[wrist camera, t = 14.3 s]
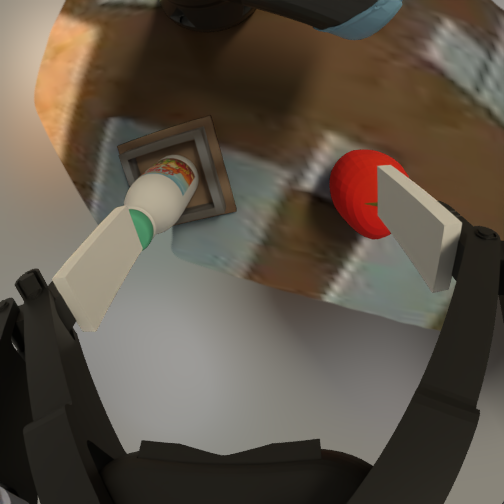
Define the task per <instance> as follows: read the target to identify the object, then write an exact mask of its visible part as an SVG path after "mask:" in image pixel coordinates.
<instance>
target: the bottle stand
mask: <svg viewBox="0 0 504 504" xmlns="http://www.w3.org/2000/svg"><path fill="white" fill-rule="evenodd" d="M117 148H118V151H119V154H120V155H119V158H120V161H121V164H122V167H123V170H124V172H125V175H126V178H127V181H128V183H129V186H130V187H131V185H132V184H133V183H134V182H135V181H136V180H137V179H138V178H139V177H140V176H141V175H142V174H143V173H144V172H146V171H147V170H148V169H149V168H150V167H152V166H153V165H154V164H155V163H157V162H158V161H159V160H161V159H162V158H164V157H166V156H169V155H180V156H183V157H185V158H187V159H189V160H190V161H191V162H192V163H193V164H194V166H195V167H196V169H197V172H198V176H199V181H198V186H197V188H196V190H195V192H194V194H193V196H192V198H191V199H190V201H189V203H188V205H187V206H186V208H185V210H184V211H183V213H182V215H181V216H180V218H179V219H178V221H177V222H176V223H175V224H174V225H178V224H182V223H187V222H191V221H195V220H200V219H204V218H209V217H213V216H218V215H222V214H227V213H231V212H236V210H237V208H236V205H235V201H234V198H233V194H232V190H231V187H230V183H229V179H228V176H227V172H226V169H225V165H224V161H223V158H222V154H221V150H220V147H219V143H218V139H217V136H216V132H215V128H214V125H213V121H212V117H211V116H207V117H203V118H200V119H196V120H193V121H189V122H186V123H183V124H179V125H176V126H173V127H170V128H167V129H164V130H161V131H158V132H155V133H152V134H149V135H146V136H143V137H140V138H137V139H135V140H132V141H129V142H127V143H124V144H121V145H119V146H117ZM174 225H173V226H174Z"/></svg>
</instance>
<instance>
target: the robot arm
mask: <svg viewBox="0 0 504 504" xmlns="http://www.w3.org/2000/svg"><path fill="white" fill-rule="evenodd" d="M159 1H160V4H161V7H162V8H163V10H164V12H165V13H166V15H167V16H168V17H169V18H170V19H172V20H173V21H174V22H176V23H177V24H179V25H180V26H182V27H184V28H187V29H190V30H194V31H199V32H214V31H220V30H224V29H227V28H230V27H233V26H235V25H237V24H239V23H241V22H242V21H244V20H245V19H246V18H247V17H249V16H250V15H251V14H252V13H253V12H254V10H255V9H260V10H263V11H267V12H270V13H274V14H277V15H280V16H284V17H287V18H290V19H293V20H296V21H299V22H302V23H305V24H307V25H310V26H313V28H314V29H316V30H318V31H322V32H328V33H331V34H334V35H337V36H339V37H342V38H344V39H348V40H361V39H364V38H367V37H369V36H371V35H373V34H374V33H376V32H377V31H379V30H380V29H381V28H383V27H384V26H385V25H386V24H387V23H388V22H389V21H390V20H391V19H392V18H393V17H394V16H395V14H396V13H397V12H398V11H399V9H400V8H401V6H402V0H159ZM377 179H378V217H379V218H380V219H381V220H382V222H383V223H384V224H385V226H386V227H387V228H388V230H389V231H390V232H391V234H392V235H393V236H394V238H395V239H396V240H397V242H398V243H399V245H400V246H401V247H402V249H403V250H404V252H405V253H406V254H407V256H408V257H409V259H410V260H411V262H412V263H413V265H414V266H415V267H416V269H417V270H418V272H419V273H420V275H421V276H422V278H423V279H424V281H425V282H426V284H427V286H428V287H429V289H430V290H431V292H432V293H434V292H439V291H443V290H448V289H449V286H450V282H451V278H452V276H453V277H454V279H455V280H456V281H457V282H456V285H455V289H454V292H453V296H452V299H451V302H450V306H449V309H448V312H447V315H446V318H445V321H444V324H443V327H442V330H441V332H440V335H439V338H438V341H437V343H436V346H435V348H434V351H433V353H432V356H431V359H430V361H429V363H428V366H427V368H426V370H425V373H424V375H423V377H422V379H421V382H420V384H419V386H418V388H417V389H416V391H415V394H414V395H413V397H412V400H411V402H410V404H409V406H408V407H407V410H406V411H405V413H404V415H403V417H402V419H401V421H400V423H399V424H398V426H397V428H396V430H395V432H394V433H393V435H392V437H391V438H390V440H389V442H388V444H387V445H386V447H385V449H384V450H383V452H382V453H381V455H380V457H379V458H378V460H377V461H376V463H375V464H374V466H372V465H371V464H369V463H367V462H365V461H364V460H362V459H360V458H357V457H355V456H353V455H349V454H346V453H343V452H339V451H333V450H326V449H321V446H320V439H313V440H305V441H296V442H285V443H272V444H269V445H265V446H262V447H258V448H255V449H251V450H247V451H243V452H239V453H235V454H230V455H217V454H213V453H210V452H206V451H203V450H199V449H196V448H192V447H189V446H186V445H182V444H175V443H164V442H153V441H144V440H143V441H141V446H140V450H139V451H137V452H133V453H129V454H127V453H126V452H125V451H124V449H123V447H122V445H121V443H120V441H119V439H118V437H117V435H116V433H115V431H114V429H113V427H112V425H111V422H110V420H109V418H108V416H107V414H106V411H105V409H104V407H103V404H102V402H101V400H100V397H99V395H98V393H97V390H96V387H95V385H94V382H93V380H92V377H91V374H90V372H89V369H88V366H87V363H86V360H85V358H84V355H83V352H82V348H81V345H80V342H79V339H78V336H77V333H76V332H75V330H74V329H73V326H74V324H75V322H77V323H78V324H79V326H80V328H81V329H82V331H83V332H90V331H91V332H92V331H97V329H98V327H99V325H100V323H101V321H102V319H103V317H104V315H105V314H106V312H107V310H108V308H109V306H110V305H111V303H112V301H113V299H114V297H115V295H116V294H117V292H118V290H119V288H120V287H121V285H122V283H123V281H124V280H125V278H126V276H127V274H128V273H129V271H130V269H131V267H132V266H133V264H134V263H135V261H136V259H137V258H138V256H139V254H140V253H141V251H142V249H143V248H142V245H141V243H140V240H139V237H138V235H137V232H136V229H135V226H134V224H133V221H132V218H131V215H130V212H129V209H128V206H127V205H125V206H121V207H117V208H115V209H114V210H113V211H112V212H111V213H110V214H109V215H108V216H107V217H106V218H105V219H104V220H103V221H102V222H101V223H100V224H99V225H98V226H97V228H96V229H95V230H94V231H93V232H92V233H91V234H90V236H88V237H87V238H86V240H85V241H84V242H83V243H82V244H81V245H80V246H79V247H78V249H77V250H76V251H75V252H74V253H73V254H72V255H71V257H70V258H69V259H68V260H67V261H66V262H65V264H64V265H63V266H62V267H61V269H60V270H59V271H58V272H57V273H56V275H55V276H54V277H53V278H52V280H53V281H52V282H51V283H50V284H49V286H47V284H46V282H45V280H44V278H43V276H42V275H41V273H40V271H39V269H32V270H30V271H28V272H26V273H25V274H23V275H22V276H21V277H20V278H19V279H18V280H17V281H16V283H15V286H16V288H17V290H18V292H19V293H20V295H21V297H22V298H23V300H24V304H23V305H20V306H17V304H16V302H15V301H14V299H13V298H8V299H6V300H2V301H1V302H0V504H37V500H38V497H39V500H40V503H41V504H444V502H445V500H446V498H447V496H448V494H449V492H450V490H451V488H452V486H453V484H454V482H455V480H456V478H457V475H458V473H459V471H460V469H461V466H462V464H463V461H464V459H465V457H466V454H467V451H468V449H469V447H470V444H471V441H472V439H473V436H474V433H475V430H476V427H477V424H478V420H479V416H480V410H478V409H476V405H477V401H478V398H479V394H480V390H481V387H482V383H483V379H484V375H485V371H486V367H487V362H488V358H489V353H490V347H491V342H492V337H493V330H494V323H495V317H496V309H497V300H498V295H499V300H500V305H501V310H502V315H503V321H504V241H500V237H499V235H498V234H497V233H496V232H495V231H493V230H492V229H489V228H486V227H482V226H474V227H473V226H472V225H471V224H470V223H469V222H468V221H467V220H465V219H464V218H463V217H462V216H460V214H459V213H457V212H455V210H454V209H453V208H452V207H450V206H449V205H447V204H445V203H443V202H441V201H436V200H435V199H434V198H433V197H432V196H430V195H429V194H428V193H427V192H426V191H424V190H423V189H422V188H421V187H419V186H418V185H417V184H415V183H414V182H413V181H412V180H410V179H409V178H408V177H406V176H405V175H404V174H402V173H401V172H400V171H398V170H397V169H396V168H394V167H393V166H392V165H383V166H377ZM12 343H13V344H14V345H15V347H16V348H17V351H16V349H15V348H14V346H13V344H12ZM502 504H504V502H503V503H502Z"/></svg>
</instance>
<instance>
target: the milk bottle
mask: <svg viewBox="0 0 504 504" xmlns="http://www.w3.org/2000/svg"><path fill="white" fill-rule="evenodd" d="M198 181H199V176H198V172H197V169H196V167H195V166H194V164H193V163H192V162H191V161H190V160H189V159H187V158H185V157H183V156H180V155H169V156H166V157H164V158H162V159H161V160H159V161H158V162H157V163H155V164H154V165H153V166H152V167H150V168H149V169H148V170H147V171H146V172H144V173H143V174H142V175H141V176H140V177H139V178H138V179H137V180H136V181H135V182H134V183H133V184H132V185H131V187H130V188H129V190H128V192H127V194H126V197H125V201H124V206H125V205H127V206H128V209H129V212H130V215H131V218H132V221H133V224H134V226H135V229H136V232H137V235H138V237H139V240H140V243H141V245H142V248H143V249H142V251H143V250H144V249H145V248H147V246H148V245H149V244H150V242H151V240H152V239H153V237H154V235H155V234H159V233H162V232H164V231H166V230H168V229H169V228H171V227H172V226H173V225H174V224H175V223H176V222H177V221H178V219H179V218H180V216H181V215H182V213H183V211H184V210H185V208H186V206H187V205H188V203H189V201H190V199H191V198H192V196H193V194H194V192H195V190H196V188H197V186H198Z"/></svg>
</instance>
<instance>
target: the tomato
mask: <svg viewBox="0 0 504 504" xmlns="http://www.w3.org/2000/svg"><path fill="white" fill-rule="evenodd" d="M383 165H392V166H393V167H394V168H396V169H397V170H398V171H400V172H401V173H402V174H404V175H405V176H406V177H408V175H407V173H406V172H405V171H404V169H403V168H402V166H401V165H400V164H399V163H398V162H397V161H395V160H394V159H393V158H391V157H389V156H387V155H386V154H383V153H381V152H378V151H374V150H353V151H351V152H348V153H346V154H345V155H343V156H342V157H341V158H340V159H339V160H338V161H337V162H336V164H335V165H334V167H333V169H332V171H331V175H330V193H331V198H332V201H333V203H334V206H335V207H336V209H337V211H338V212H339V214H340V215H341V216H342V217H343V219H344V220H345V221H346V222H347V223H348V224H349V225H350V226H351V227H352V228H353V229H354V230H355V231H356V232H358V233H359V234H361V235H363V236H364V237H367V238H370V239H380V238H383V237H386V236H388V235H390V234H391V232H390V231H389V230H388V228H387V227H386V226H385V224H384V223H383V222H382V220H381V219H380V218H379V217H378V179H377V166H383ZM408 178H409V177H408Z"/></svg>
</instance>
